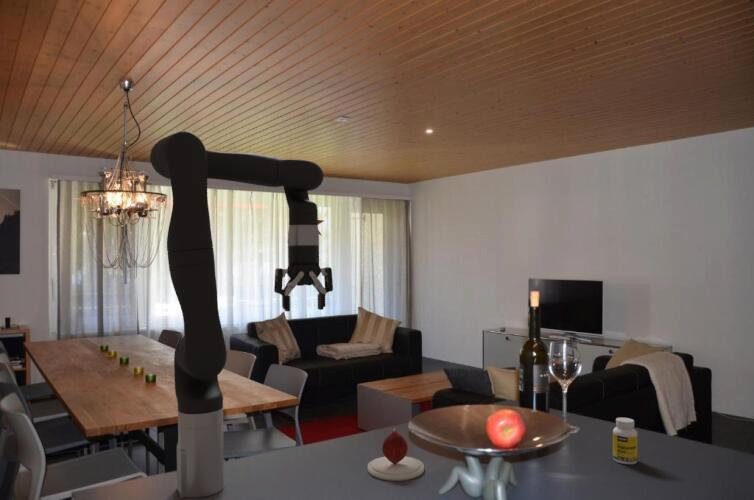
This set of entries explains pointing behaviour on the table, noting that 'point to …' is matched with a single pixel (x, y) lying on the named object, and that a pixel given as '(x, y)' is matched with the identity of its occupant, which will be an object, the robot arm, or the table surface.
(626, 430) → the supplement bottle
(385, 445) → the onion
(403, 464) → the saucer
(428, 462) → the table surface
